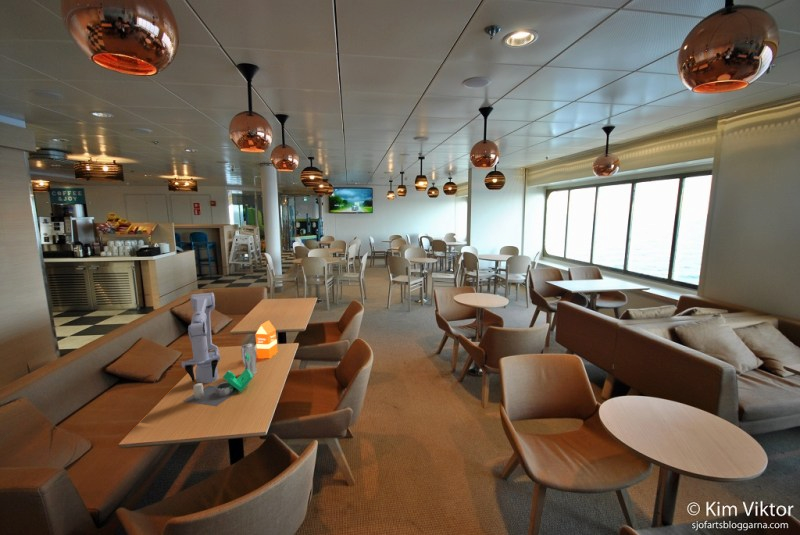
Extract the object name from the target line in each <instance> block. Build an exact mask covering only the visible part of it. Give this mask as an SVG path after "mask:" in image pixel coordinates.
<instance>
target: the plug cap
mask: <svg viewBox="0 0 800 535" xmlns="http://www.w3.org/2000/svg"><path fill="white" fill-rule="evenodd" d="M203 384H204V383H202V382H197V383H196V384H193V386H192V388H193V395H194V396H195V400H200V399H202V398H204V391H203V389H204V385H203Z"/></svg>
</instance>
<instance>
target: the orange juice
mask: <svg viewBox="0 0 800 535" xmlns="http://www.w3.org/2000/svg"><path fill="white" fill-rule="evenodd" d="M276 331H277V330H276V328H275V326H274V325H273V324H272V323H271V321H270V320H267V321H265V322H264V323H261V324H260V326H259V328H258V329H257V331H256V333H254V334H255V342H256V343H255V346H256V353H257V359H264V358H270V359H271V358H273V357H274V356H275V355H277V354H278V353H277V352H278V340H277V332H276ZM276 353H277V354H276ZM273 355H274V356H273ZM272 356H273V357H272Z"/></svg>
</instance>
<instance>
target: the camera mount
mask: <svg viewBox="0 0 800 535" xmlns="http://www.w3.org/2000/svg"><path fill="white" fill-rule="evenodd" d="M222 378H223V379H224V380H225V382H229V383H230V384H231V385H232V386H233V388H234V389H238V390H239V391H238V392H242V391H244V389H245V388H246V387H247V385H248V384H249V383H250V382H251V381H252V380H253V378H254V375H253V374H252V373H251V372H250V371H249V370H248V369H245V368H244V370H243V372H241V374H240V375H239V376H238V377H237V378H236V374H235V373H234V372H232V371H230V370H227V371H226V372H225V374H224V375H223V376H222Z"/></svg>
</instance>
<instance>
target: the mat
mask: <svg viewBox="0 0 800 535" xmlns="http://www.w3.org/2000/svg"><path fill="white" fill-rule="evenodd" d="M215 386H216V385H210V384H209V385H207V386H205V387H203V391H204V398H202V399H200V400H195V396H194V394H192V395H190V396H189V397H187V398H186V399H184V400H183V402H187V403H192V404H198V405H204V406H206V405H207V406H211V407H212V406H213V407H218V406H219V405H221V404H222V403H223V402H225V401H226V400H228V399H229V398H230V397H232V396H234V395H235V394H236V393H238V392H240V391H239V390H238V389H236V388H234V391H233V393H232V394H230V395H228V396H225V397H217V396H216V395H215Z"/></svg>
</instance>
